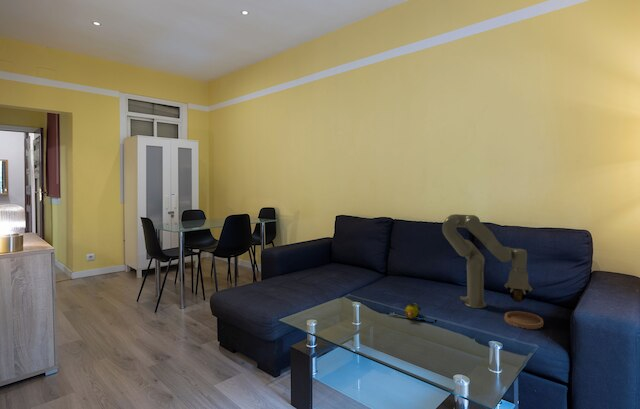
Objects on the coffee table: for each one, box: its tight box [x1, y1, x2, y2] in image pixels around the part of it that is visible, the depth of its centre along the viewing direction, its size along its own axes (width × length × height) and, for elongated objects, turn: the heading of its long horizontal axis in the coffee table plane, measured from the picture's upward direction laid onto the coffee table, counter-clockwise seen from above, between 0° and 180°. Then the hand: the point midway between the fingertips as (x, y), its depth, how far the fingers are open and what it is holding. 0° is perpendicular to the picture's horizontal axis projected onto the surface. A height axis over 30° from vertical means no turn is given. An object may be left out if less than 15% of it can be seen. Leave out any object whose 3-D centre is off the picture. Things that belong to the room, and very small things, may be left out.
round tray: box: [503, 310, 544, 330], centre depth 191 cm, size 19×19×2 cm
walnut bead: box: [512, 289, 523, 303], centre depth 205 cm, size 5×5×7 cm
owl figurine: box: [387, 302, 422, 321], centre depth 203 cm, size 28×9×15 cm
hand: (517, 298), depth 205 cm, fingers closed on walnut bead, 5 cm apart
